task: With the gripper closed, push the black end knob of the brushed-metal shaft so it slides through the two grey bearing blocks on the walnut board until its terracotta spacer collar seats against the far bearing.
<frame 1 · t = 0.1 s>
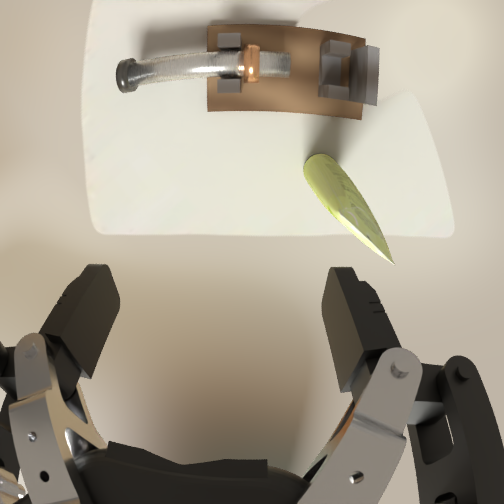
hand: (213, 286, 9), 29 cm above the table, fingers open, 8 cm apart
tube: (318, 168, 36), on the table
shaft: (201, 65, 25), point 5 cm above the table, slide at 0.0 cm
bearing board: (287, 68, 28), on the table
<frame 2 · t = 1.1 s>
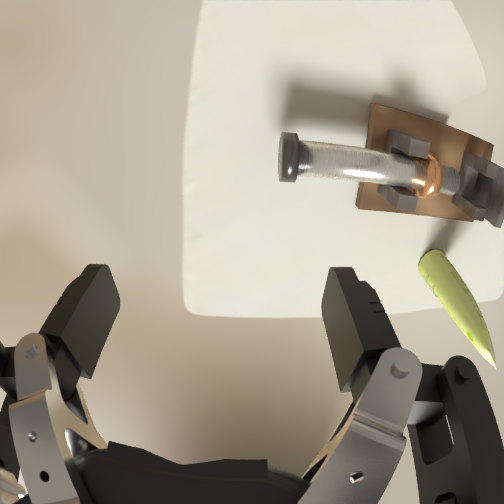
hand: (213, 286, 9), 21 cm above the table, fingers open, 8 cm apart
tube: (429, 260, 35), on the table
shaft: (380, 167, 23), point 4 cm above the table, slide at 0.0 cm
bearing board: (432, 168, 27), on the table
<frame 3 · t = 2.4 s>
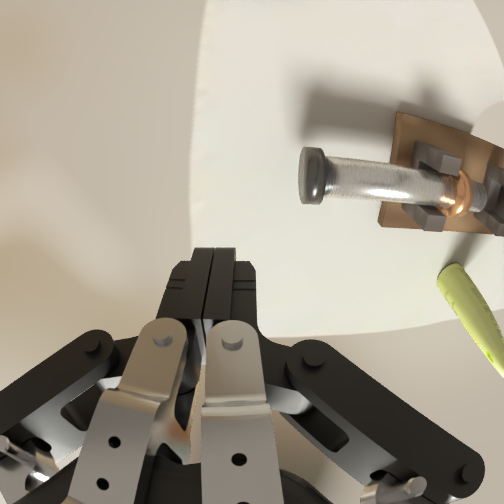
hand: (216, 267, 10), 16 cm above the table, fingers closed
tube: (447, 274, 32), on the table
shaft: (409, 185, 20), point 4 cm above the table, slide at 0.0 cm
bearing board: (456, 181, 24), on the table
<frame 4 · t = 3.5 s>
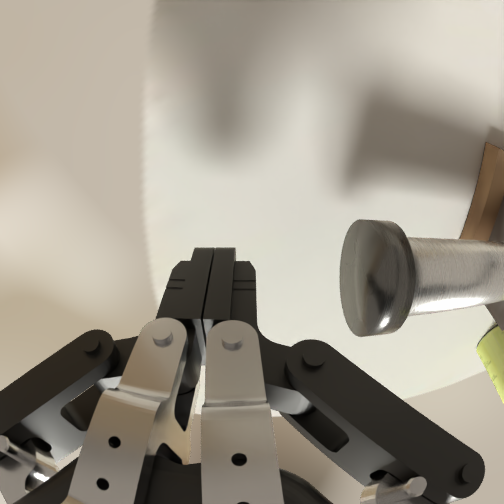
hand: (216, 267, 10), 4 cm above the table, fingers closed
tube: (489, 335, 22), on the table
shaft: (502, 271, 10), point 5 cm above the table, slide at 0.0 cm
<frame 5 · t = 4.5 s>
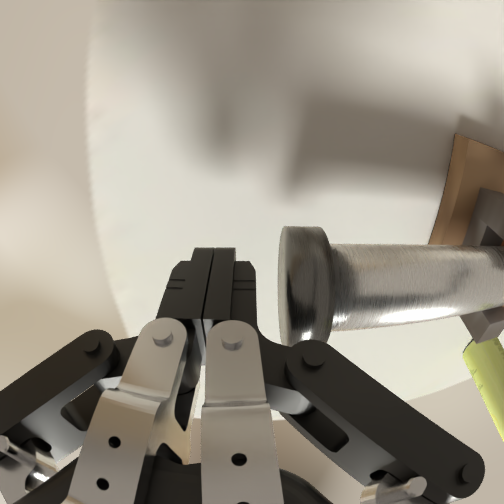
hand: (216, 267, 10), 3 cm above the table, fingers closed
tube: (476, 341, 21), on the table
shaft: (475, 278, 10), point 5 cm above the table, slide at 0.2 cm, touching gripper
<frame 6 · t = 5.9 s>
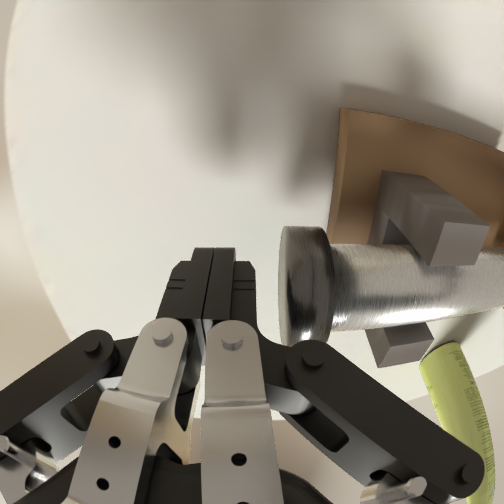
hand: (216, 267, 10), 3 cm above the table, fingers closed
tube: (437, 353, 21), on the table
shaft: (475, 279, 10), point 4 cm above the table, slide at 7.1 cm, touching gripper
bearing board: (466, 234, 13), on the table
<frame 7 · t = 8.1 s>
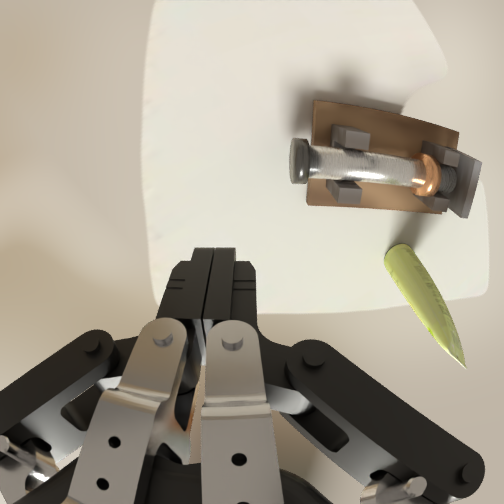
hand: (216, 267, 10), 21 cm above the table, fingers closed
tube: (396, 255, 36), on the table
shaft: (383, 168, 25), point 4 cm above the table, slide at 7.0 cm
bearing board: (388, 160, 28), on the table
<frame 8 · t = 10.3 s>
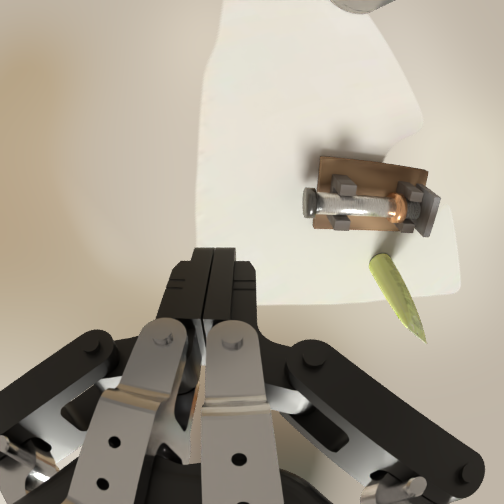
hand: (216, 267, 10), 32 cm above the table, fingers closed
tube: (378, 261, 50), on the table
shaft: (366, 205, 39), point 4 cm above the table, slide at 7.0 cm
bearing board: (372, 195, 42), on the table
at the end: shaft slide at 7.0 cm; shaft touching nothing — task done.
